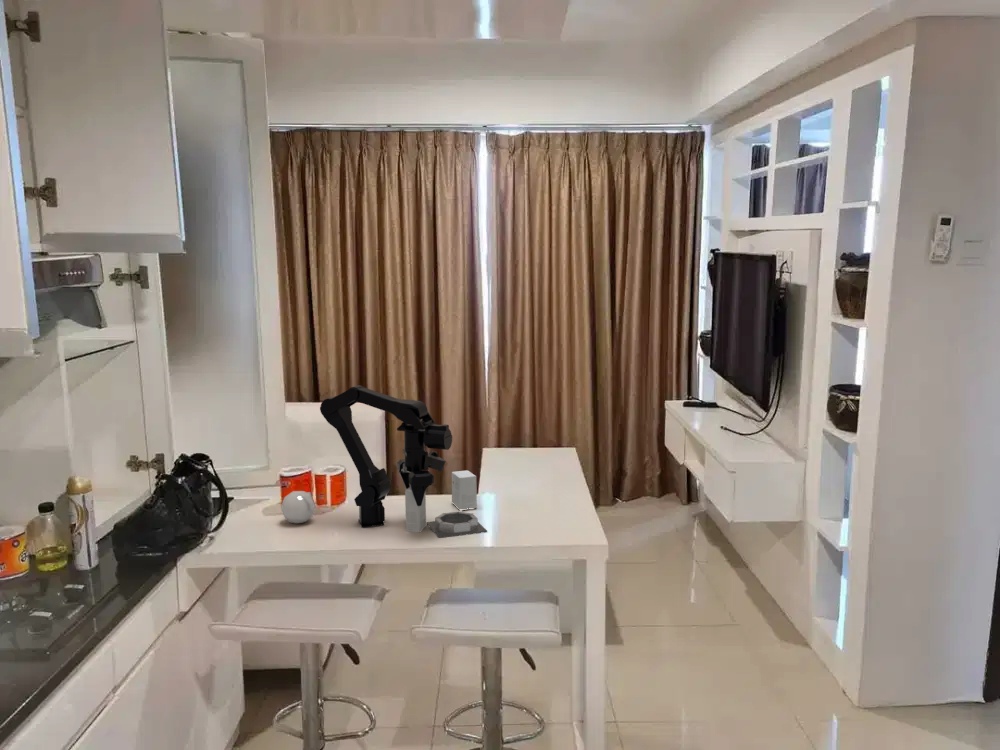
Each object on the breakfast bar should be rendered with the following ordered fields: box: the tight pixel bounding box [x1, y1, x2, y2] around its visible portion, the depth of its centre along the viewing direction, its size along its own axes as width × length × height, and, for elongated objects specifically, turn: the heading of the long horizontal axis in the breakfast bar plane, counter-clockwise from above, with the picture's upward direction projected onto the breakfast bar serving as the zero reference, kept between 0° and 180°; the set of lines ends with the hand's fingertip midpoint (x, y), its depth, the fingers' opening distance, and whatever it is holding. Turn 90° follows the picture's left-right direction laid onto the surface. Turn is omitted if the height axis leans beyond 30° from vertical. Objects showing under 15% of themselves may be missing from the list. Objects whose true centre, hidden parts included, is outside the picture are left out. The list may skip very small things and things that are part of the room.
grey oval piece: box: [280, 490, 316, 524], centre depth 220 cm, size 9×10×15 cm
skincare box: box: [404, 487, 427, 533], centre depth 212 cm, size 6×4×12 cm
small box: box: [451, 470, 478, 509], centre depth 232 cm, size 8×6×10 cm
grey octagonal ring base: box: [426, 511, 488, 539], centre depth 213 cm, size 14×13×3 cm
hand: (415, 501), depth 212 cm, fingers open, 9 cm apart
